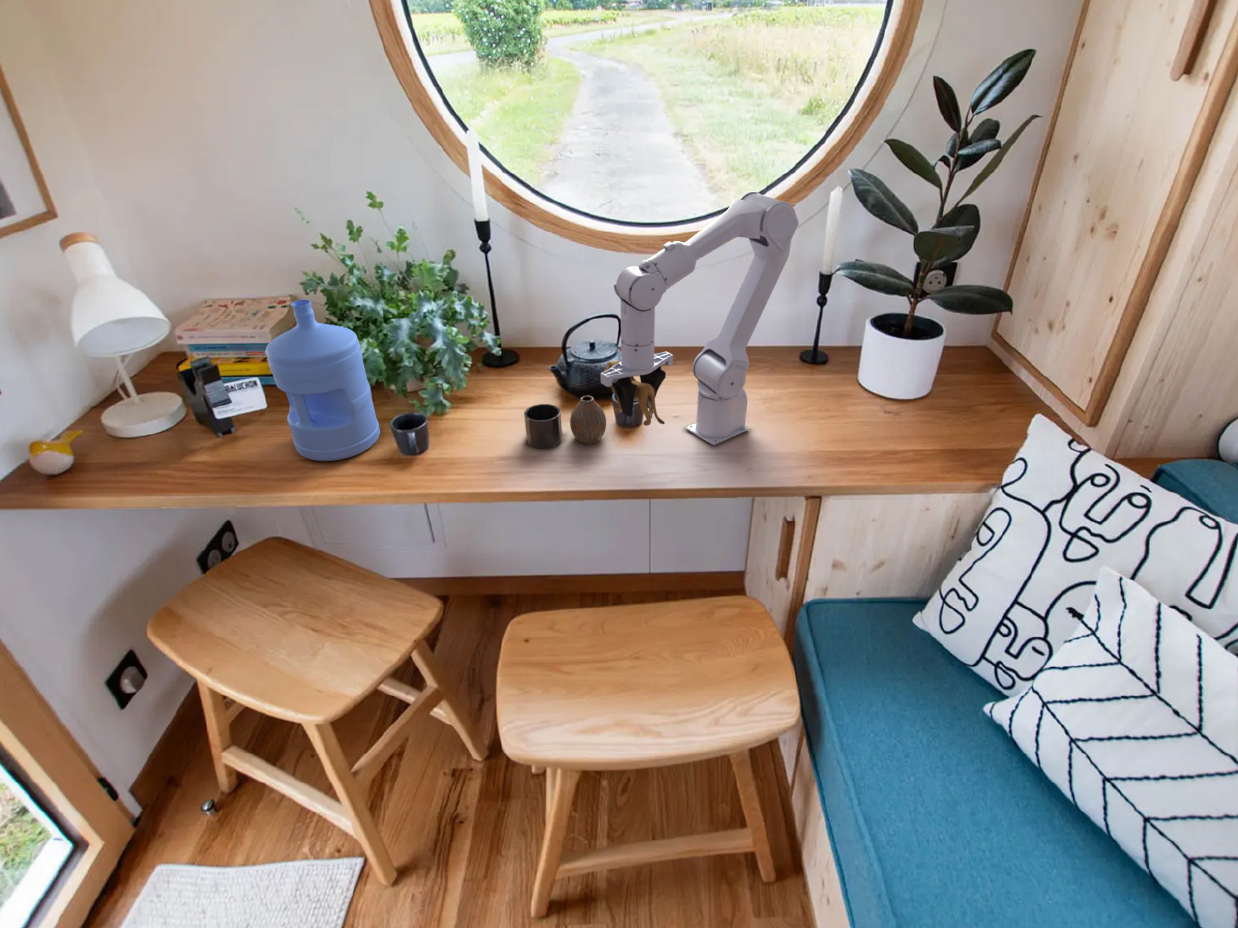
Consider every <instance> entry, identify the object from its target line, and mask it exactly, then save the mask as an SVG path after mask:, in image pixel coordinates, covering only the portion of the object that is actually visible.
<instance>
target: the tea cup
mask: <svg viewBox="0 0 1238 928" xmlns="http://www.w3.org/2000/svg"><path fill="white" fill-rule="evenodd" d="M561 415H562V414H561V408H560V407H558V406H556V405H554V404H550V403H538V404H534V405H531V406H529V407H527V408H526V409H525V410H524V411H523V416H524V417H523V418H524V427H525V437H526V442H527V444H528V445H529V446H530V447H532V448H535V449H538V450H539V449H542V450H545V449H552V448H554V447H557V446H558V445H560V444H561V443H562V441H563V428H562V416H561Z"/></svg>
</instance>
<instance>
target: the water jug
mask: <svg viewBox="0 0 1238 928" xmlns="http://www.w3.org/2000/svg"><path fill="white" fill-rule="evenodd" d="M290 306H291V307H292V309H293V316H294V317H295V322H296V326H294V327H292V328H291V329H288V330H286V331H285V332H283V333H281V334H279V335H278V336H276V337H274V338H272V339H271V340H270V341H269V343H268V344H267V345H266V348H265V354H266V358H267V364H268V367H269V371H270V372H271V374H272V376H273V380H274V383H275V386H276V387H277V388H278V389H279V390H280V391H282V392H284V393H285V394H286V397H287V401H288V404H289V411H288V414H287V417H286V419H287V423H288V427H289V429H290V432H291V437H292V442H293V445H294V448H295V451H296V452H297V453H298V454H299V455H300V456H302V457H303V458H305V459H308V460H311V461H318V462H333V461H340V460H345V459H349V458H352V457H355V456H358V455H360V454H362V453H364V452H365V451H367V450H369V449H370V448H371V447H373V446H374V445H375V444H376V442H377V441H378V440H379V438H380V434H381V428H380V423H379V421H378V419H377V415H376V411H375V407H374V406H375V405H374V402H373V398H372V397H373V396H372V390H371V386H370V383H369V381H368V377H367V372H366V369H365V364H364V359H363V352H362V348H361V344H360V342H359V340H358V336H357V334H356V333H355V331H353V330H352V329H350V328H348V327H344V326H340V325H335V324H327V323H321V322H318V321H316V318H315V312H314V309H313V308H312V301H311V300H310V299H298V300H294V301H292V302H291V304H290Z"/></svg>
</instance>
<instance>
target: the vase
mask: <svg viewBox="0 0 1238 928" xmlns="http://www.w3.org/2000/svg"><path fill="white" fill-rule="evenodd" d="M569 424H570V431H571V434H572V435H573V437H574V438H575V439H576V440H577V441H578V442H580V443H583V444H589V445H591V444H594V443H597V442H598V441H600V440H601V439H602V437H603V436H604V435H605V432H606V428H607V417H606V414H605V412H604V410H603V408H602V407H601V405H599V403H597V402H596V400H595V398H594V397H593V396H591V395H583V396H582V397H580V399H579V402H578V403H577V404H576V405H575V407H574V408H573V409H572V411H571V413H570V418H569Z"/></svg>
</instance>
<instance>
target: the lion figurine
mask: <svg viewBox="0 0 1238 928" xmlns="http://www.w3.org/2000/svg"><path fill="white" fill-rule="evenodd" d="M619 362H620V361H618V360H609V361H608V362H606V364H607V365H606V367H605V368H604V370H603V371H602V372H605V371H607V370H609V369H610V368H612V367H613V366H615V365H616V364H618V363H619ZM599 374H600V376H601V373H599ZM630 380H631V383H633V384H635V385H636V386H637V388H636V391H635V394H634V400H633V402H638V405H639V408H640V410H641V412H642V413H643V415H644V417H645V420H643V423H642V425H643V426H647V427H648V426H651V424H652V418H653V416H654V417H655V419H656V421H657V422H658V423H659V424H660V425H665V424H666V422H665V421H664V420H663V419H661V418H660V417H659V415H658V413H657V408H656V407H657V406H656V397H655V390H654V388H653V387H652V386H651V385H650V384H647V383H641V381H638V380H637V379H636V378H635V376H632V377H630ZM608 388H610V389H611V390H612V393H613V394H614V395H616V403H617V408H614V411H613V412H614V413H616V414H617V413H618V414H619V413H623V412H622V408H621V404H620V401H619V398H618V396H617V394H616V392H615V390H614V388H613V386H609V387H608ZM647 402H648V406H649V409H648V407H647Z"/></svg>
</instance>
